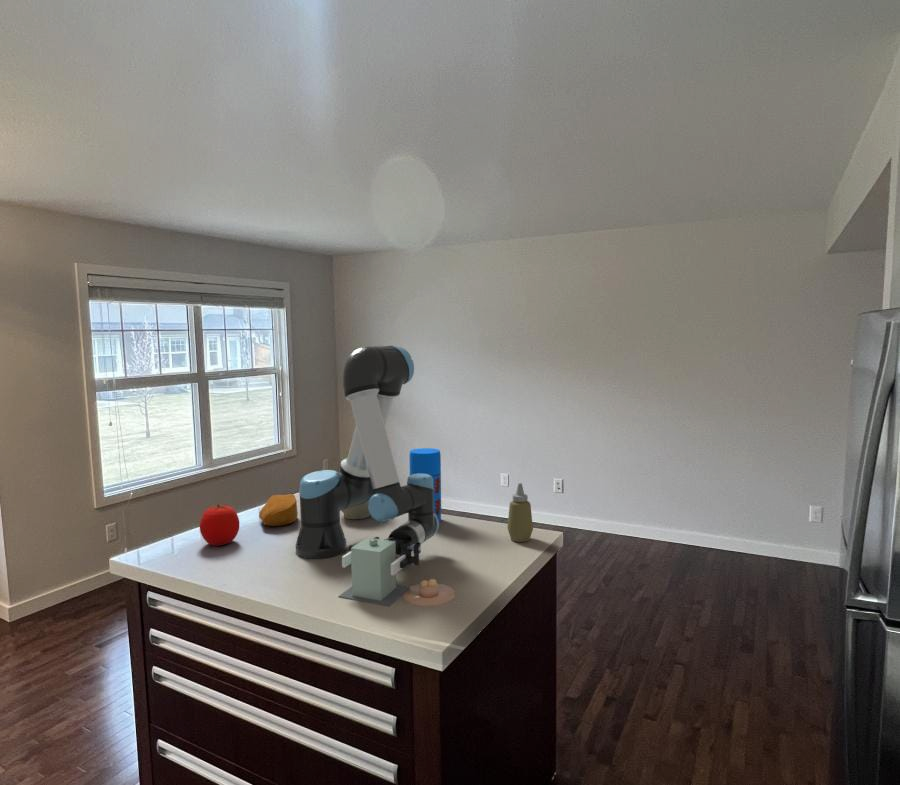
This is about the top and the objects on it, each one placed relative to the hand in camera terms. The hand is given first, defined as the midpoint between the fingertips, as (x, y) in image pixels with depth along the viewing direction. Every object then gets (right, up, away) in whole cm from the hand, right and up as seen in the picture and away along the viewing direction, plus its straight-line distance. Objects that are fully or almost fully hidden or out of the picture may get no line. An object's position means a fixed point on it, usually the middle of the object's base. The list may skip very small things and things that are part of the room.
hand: (367, 565), depth 142 cm
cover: (+1, -8, +4) cm, 8 cm away
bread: (-41, -4, +64) cm, 76 cm away
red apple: (-52, -6, +42) cm, 67 cm away
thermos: (+12, -3, +63) cm, 64 cm away
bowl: (+15, -8, +3) cm, 17 cm away
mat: (+1, -8, +4) cm, 9 cm away
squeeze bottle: (+42, -5, +43) cm, 61 cm away
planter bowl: (-14, -3, +70) cm, 72 cm away
